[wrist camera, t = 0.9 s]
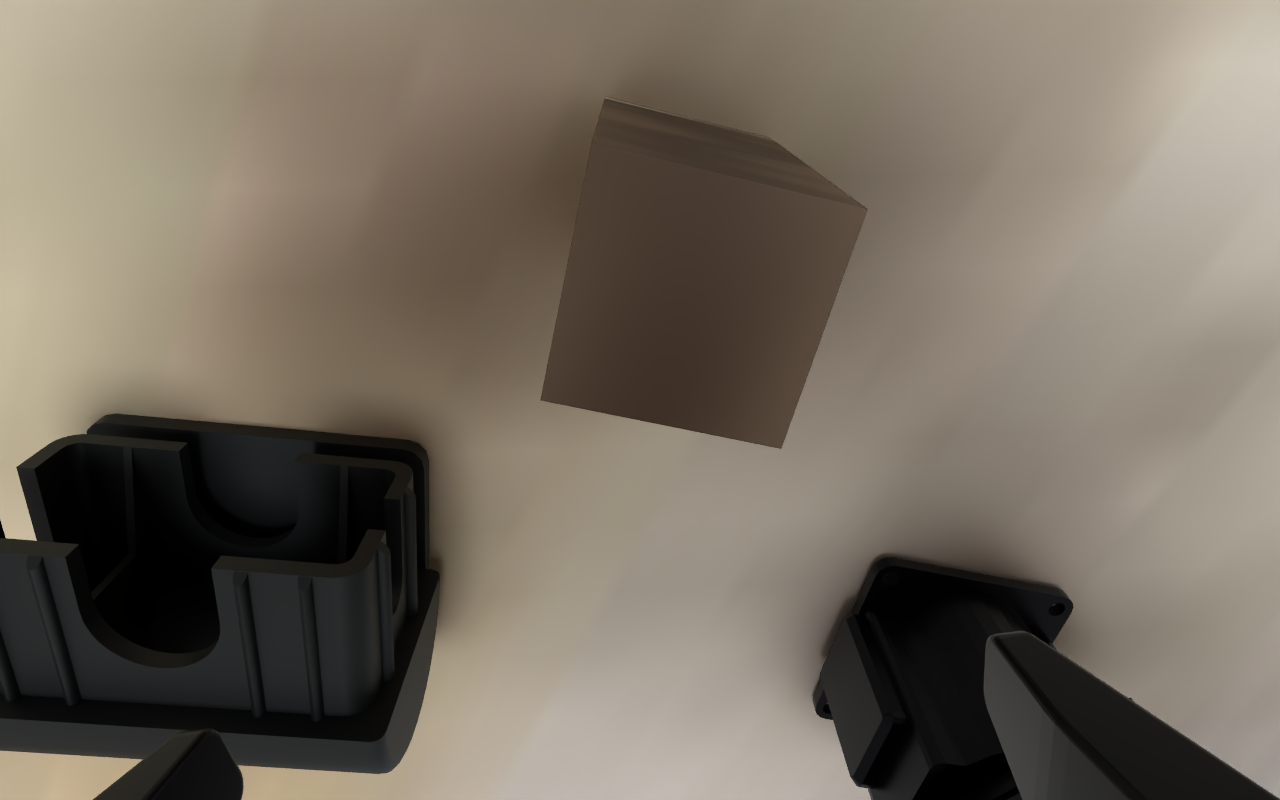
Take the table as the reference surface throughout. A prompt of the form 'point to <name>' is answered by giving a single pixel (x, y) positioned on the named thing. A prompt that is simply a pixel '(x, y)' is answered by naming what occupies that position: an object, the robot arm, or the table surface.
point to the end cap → (219, 594)
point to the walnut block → (697, 277)
